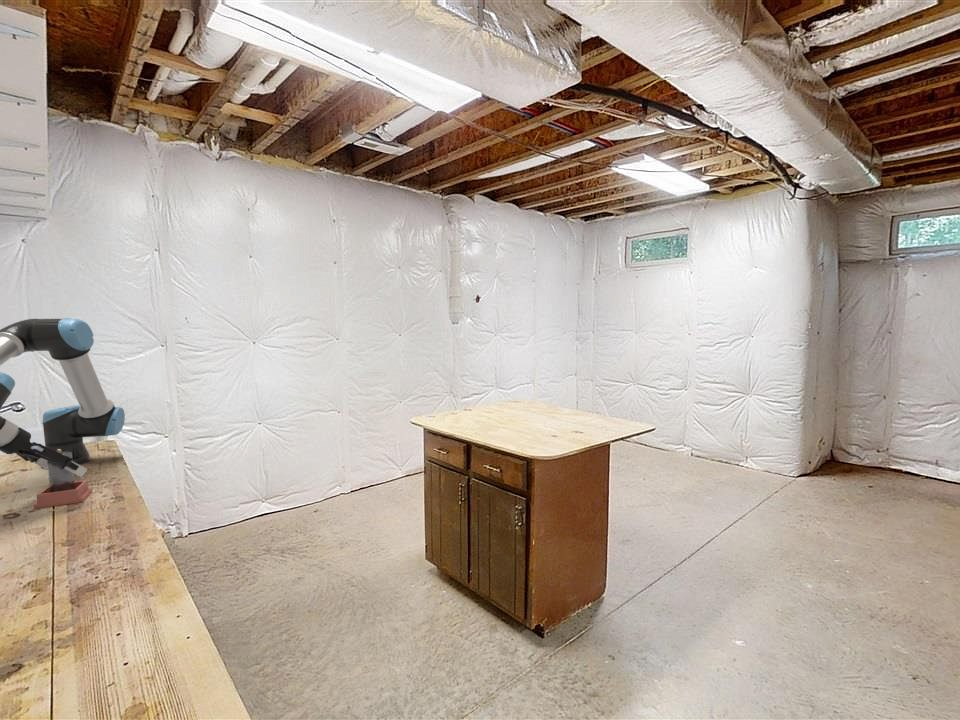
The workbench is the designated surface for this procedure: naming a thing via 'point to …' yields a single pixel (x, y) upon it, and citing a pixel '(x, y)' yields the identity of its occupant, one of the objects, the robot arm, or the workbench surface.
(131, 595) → the workbench surface
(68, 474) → the motor housing
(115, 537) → the workbench surface
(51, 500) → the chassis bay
